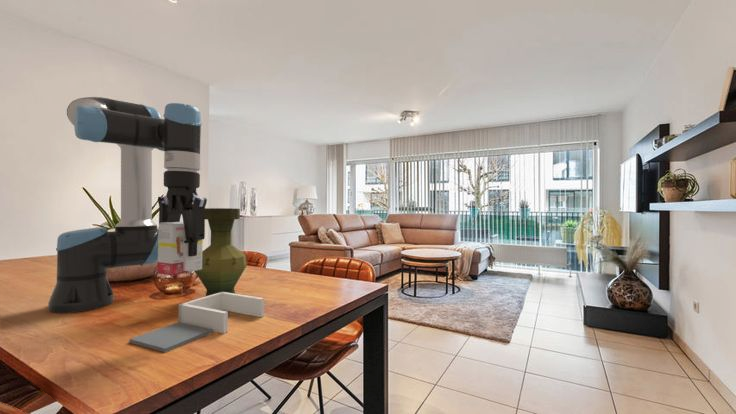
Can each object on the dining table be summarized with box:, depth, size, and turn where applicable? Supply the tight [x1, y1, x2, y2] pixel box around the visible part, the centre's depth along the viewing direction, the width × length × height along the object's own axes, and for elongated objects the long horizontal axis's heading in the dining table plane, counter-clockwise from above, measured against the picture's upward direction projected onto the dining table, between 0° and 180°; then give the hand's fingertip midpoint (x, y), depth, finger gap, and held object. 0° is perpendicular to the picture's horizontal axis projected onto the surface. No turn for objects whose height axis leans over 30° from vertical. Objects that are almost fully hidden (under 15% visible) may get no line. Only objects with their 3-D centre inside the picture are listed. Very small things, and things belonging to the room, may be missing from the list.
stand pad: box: [129, 321, 213, 353], centre depth 79 cm, size 12×12×1 cm
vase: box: [194, 207, 248, 297], centre depth 110 cm, size 16×16×30 cm
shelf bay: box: [177, 292, 265, 334], centre depth 91 cm, size 16×14×5 cm
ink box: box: [156, 221, 204, 277], centre depth 79 cm, size 9×5×12 cm, turn 158°
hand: (180, 268), depth 80 cm, fingers closed on ink box, 5 cm apart
